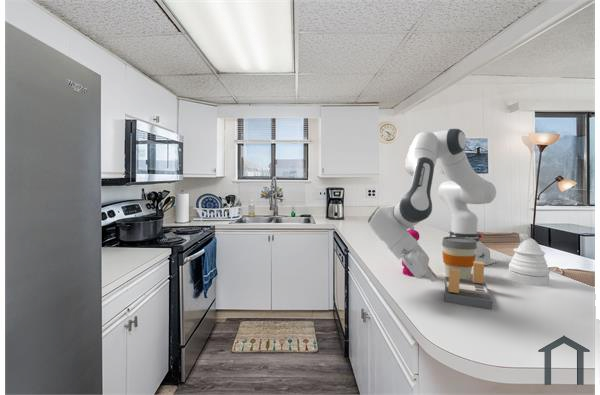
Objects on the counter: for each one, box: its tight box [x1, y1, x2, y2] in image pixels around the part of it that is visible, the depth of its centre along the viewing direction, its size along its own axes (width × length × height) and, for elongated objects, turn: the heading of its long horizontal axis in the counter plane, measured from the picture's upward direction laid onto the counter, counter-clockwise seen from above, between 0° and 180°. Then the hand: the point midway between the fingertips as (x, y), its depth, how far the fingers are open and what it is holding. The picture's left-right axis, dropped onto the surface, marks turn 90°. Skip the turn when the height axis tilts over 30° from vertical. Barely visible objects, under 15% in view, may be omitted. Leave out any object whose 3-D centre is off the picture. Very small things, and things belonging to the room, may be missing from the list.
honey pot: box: [507, 233, 550, 287], centre depth 120 cm, size 13×13×18 cm
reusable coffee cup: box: [441, 236, 477, 280], centre depth 125 cm, size 13×13×15 cm
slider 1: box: [448, 268, 460, 293], centre depth 99 cm, size 3×3×7 cm
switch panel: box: [444, 275, 494, 310], centre depth 104 cm, size 13×20×3 cm, turn 155°
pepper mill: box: [401, 226, 420, 277], centre depth 126 cm, size 7×7×20 cm
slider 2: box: [472, 261, 485, 284], centre depth 109 cm, size 3×3×7 cm
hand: (434, 279), depth 102 cm, fingers closed
